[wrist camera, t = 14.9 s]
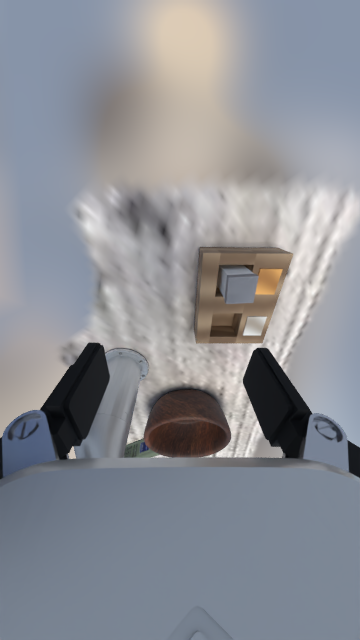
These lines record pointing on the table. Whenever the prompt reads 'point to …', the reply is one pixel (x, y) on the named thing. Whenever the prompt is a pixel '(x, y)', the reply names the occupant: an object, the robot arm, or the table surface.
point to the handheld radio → (138, 450)
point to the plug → (237, 284)
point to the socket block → (242, 318)
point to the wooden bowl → (186, 425)
